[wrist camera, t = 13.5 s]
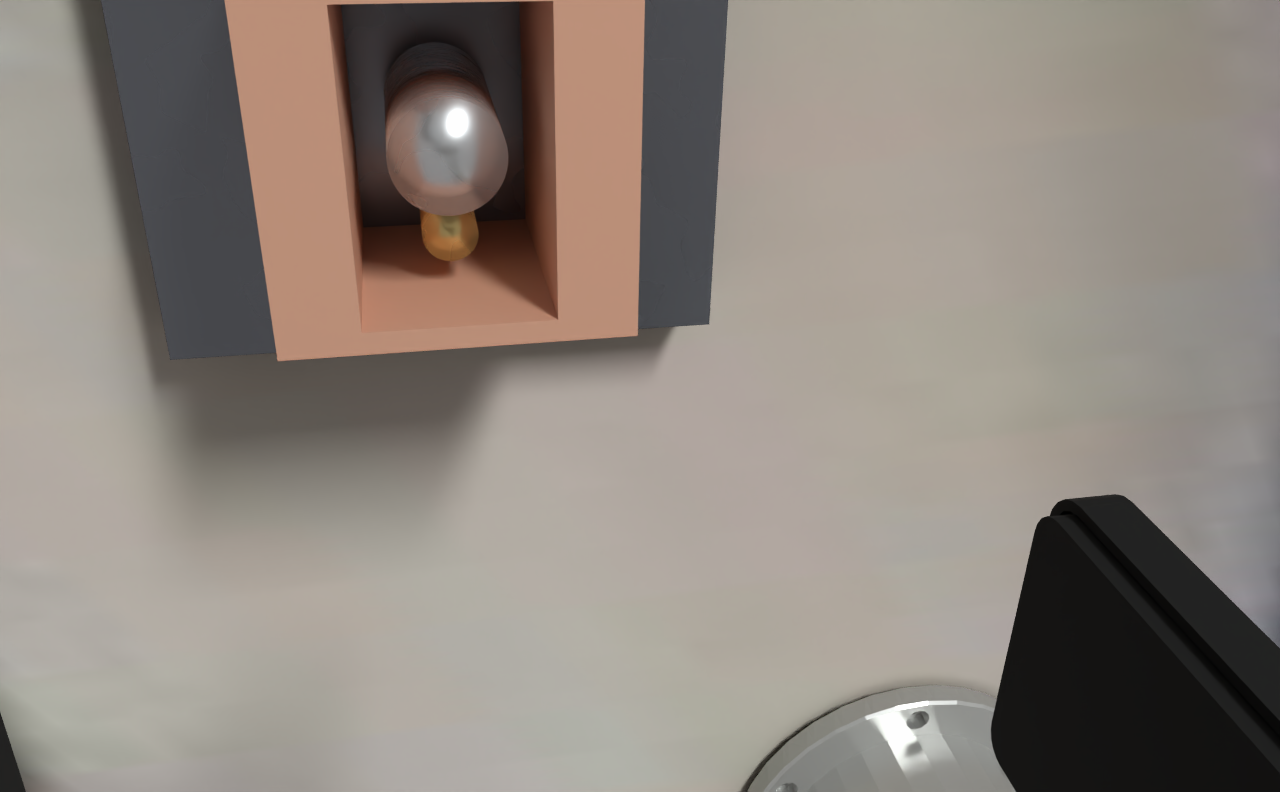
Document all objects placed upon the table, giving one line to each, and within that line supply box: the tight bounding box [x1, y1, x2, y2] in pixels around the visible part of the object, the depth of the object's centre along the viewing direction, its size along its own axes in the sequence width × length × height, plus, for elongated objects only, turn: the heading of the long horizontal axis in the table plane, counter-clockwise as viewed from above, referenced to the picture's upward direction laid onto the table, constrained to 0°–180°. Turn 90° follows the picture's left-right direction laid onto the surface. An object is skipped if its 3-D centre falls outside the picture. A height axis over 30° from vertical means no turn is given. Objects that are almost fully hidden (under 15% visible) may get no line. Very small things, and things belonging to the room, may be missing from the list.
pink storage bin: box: [225, 0, 645, 361], centre depth 25 cm, size 7×7×6 cm
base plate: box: [101, 0, 728, 360], centre depth 26 cm, size 13×14×7 cm
